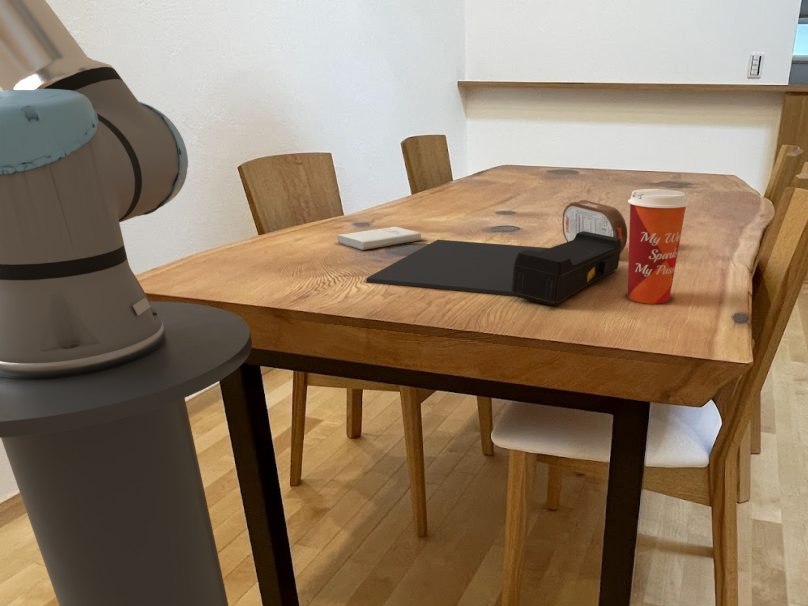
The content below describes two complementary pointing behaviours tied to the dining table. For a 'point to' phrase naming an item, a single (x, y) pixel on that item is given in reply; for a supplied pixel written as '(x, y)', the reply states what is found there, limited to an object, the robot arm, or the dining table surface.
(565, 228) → the tin
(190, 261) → the dining table surface
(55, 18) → the robot arm
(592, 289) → the dining table surface
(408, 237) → the hard drive
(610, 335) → the dining table surface
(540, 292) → the portable radio
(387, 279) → the mat
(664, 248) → the paper cup
